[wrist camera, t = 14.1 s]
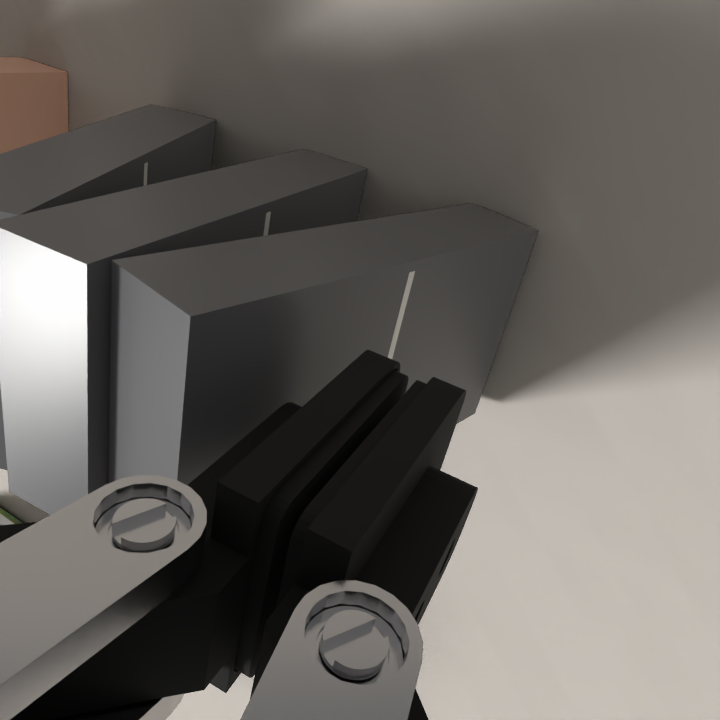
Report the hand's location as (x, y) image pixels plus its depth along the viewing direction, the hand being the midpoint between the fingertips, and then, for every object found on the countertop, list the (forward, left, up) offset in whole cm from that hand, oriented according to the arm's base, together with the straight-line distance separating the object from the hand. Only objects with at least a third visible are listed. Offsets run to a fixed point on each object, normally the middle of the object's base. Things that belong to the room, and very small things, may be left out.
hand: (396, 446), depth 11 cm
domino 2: (+5, 0, -7) cm, 9 cm away
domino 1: (+1, 0, -7) cm, 7 cm away
